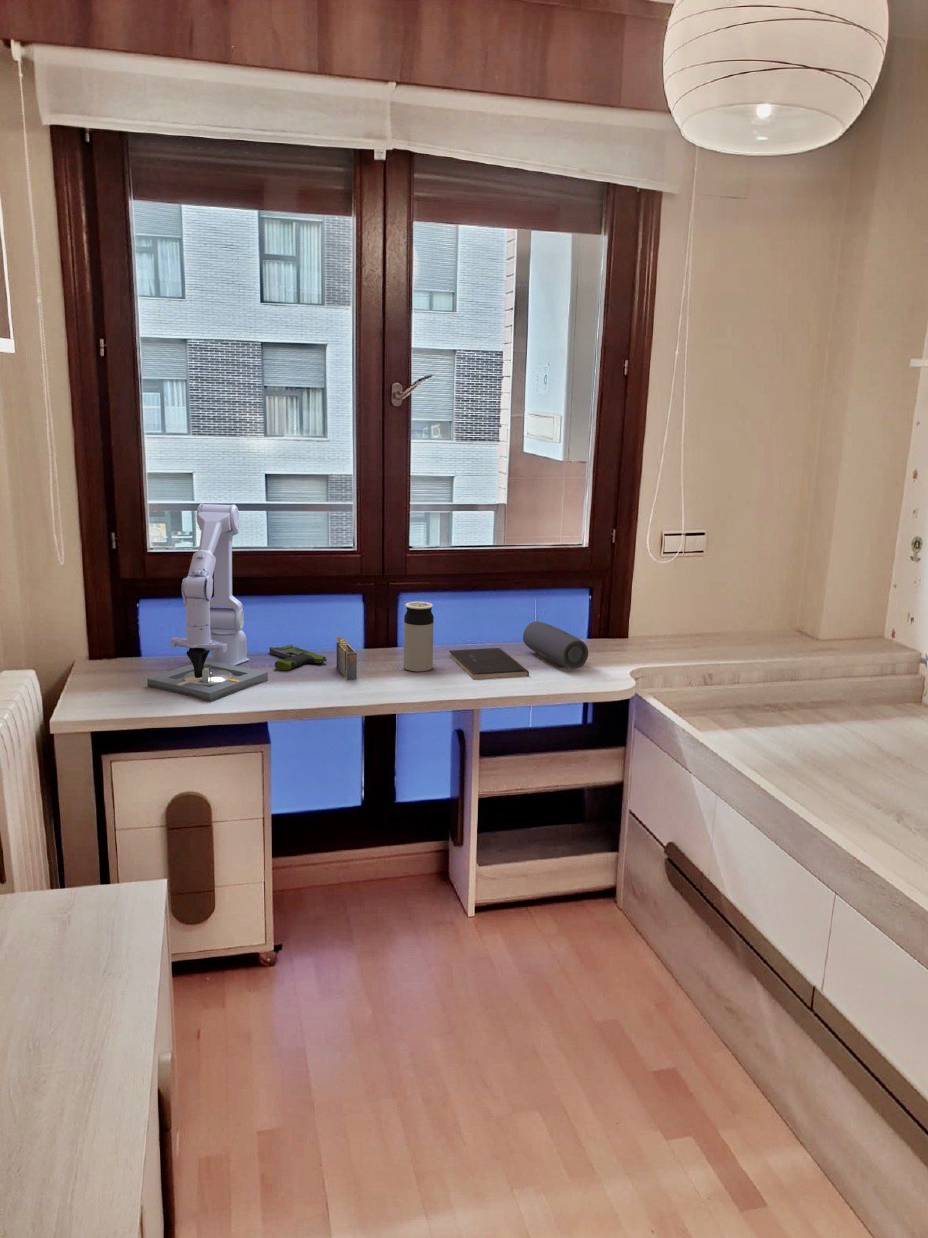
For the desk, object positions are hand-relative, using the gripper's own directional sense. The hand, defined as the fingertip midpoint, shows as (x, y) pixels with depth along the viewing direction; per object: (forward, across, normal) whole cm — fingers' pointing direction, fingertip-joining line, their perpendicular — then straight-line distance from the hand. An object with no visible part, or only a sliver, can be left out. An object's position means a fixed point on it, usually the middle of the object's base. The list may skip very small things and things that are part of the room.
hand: (199, 676), depth 237 cm
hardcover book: (+3, +63, +46) cm, 78 cm away
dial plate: (+3, 0, +5) cm, 6 cm away
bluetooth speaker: (+3, +80, +57) cm, 98 cm away
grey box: (+4, +29, +26) cm, 39 cm away
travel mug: (+3, +45, +37) cm, 59 cm away
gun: (+3, +9, +31) cm, 33 cm away
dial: (+2, 0, +5) cm, 5 cm away
